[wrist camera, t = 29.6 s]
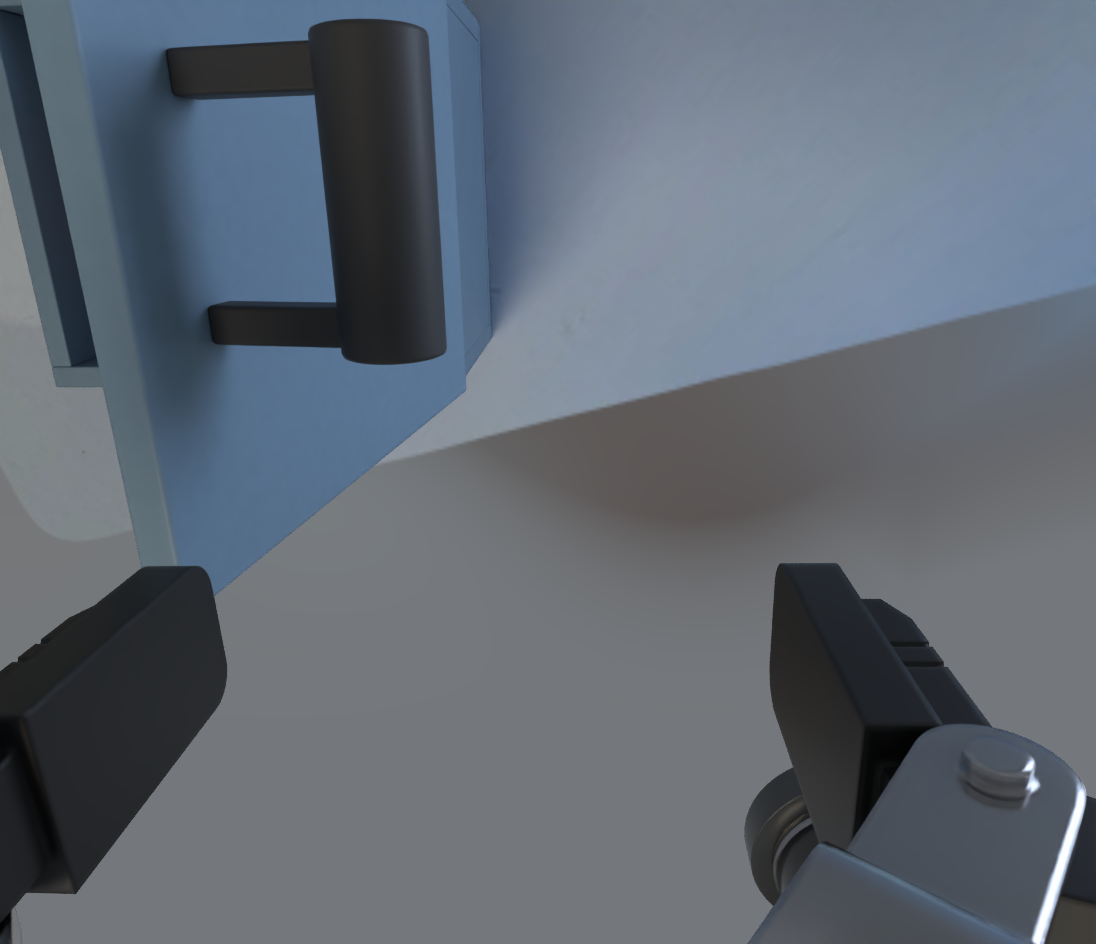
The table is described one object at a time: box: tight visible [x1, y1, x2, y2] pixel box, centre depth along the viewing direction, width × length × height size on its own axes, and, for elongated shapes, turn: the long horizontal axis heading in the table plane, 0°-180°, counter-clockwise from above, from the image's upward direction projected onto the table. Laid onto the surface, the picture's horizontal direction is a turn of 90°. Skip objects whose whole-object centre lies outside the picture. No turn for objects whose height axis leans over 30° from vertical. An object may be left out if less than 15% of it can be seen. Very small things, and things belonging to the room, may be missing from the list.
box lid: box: [21, 0, 466, 596], centre depth 19 cm, size 16×14×5 cm
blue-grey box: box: [0, 0, 492, 387], centre depth 32 cm, size 16×14×10 cm
